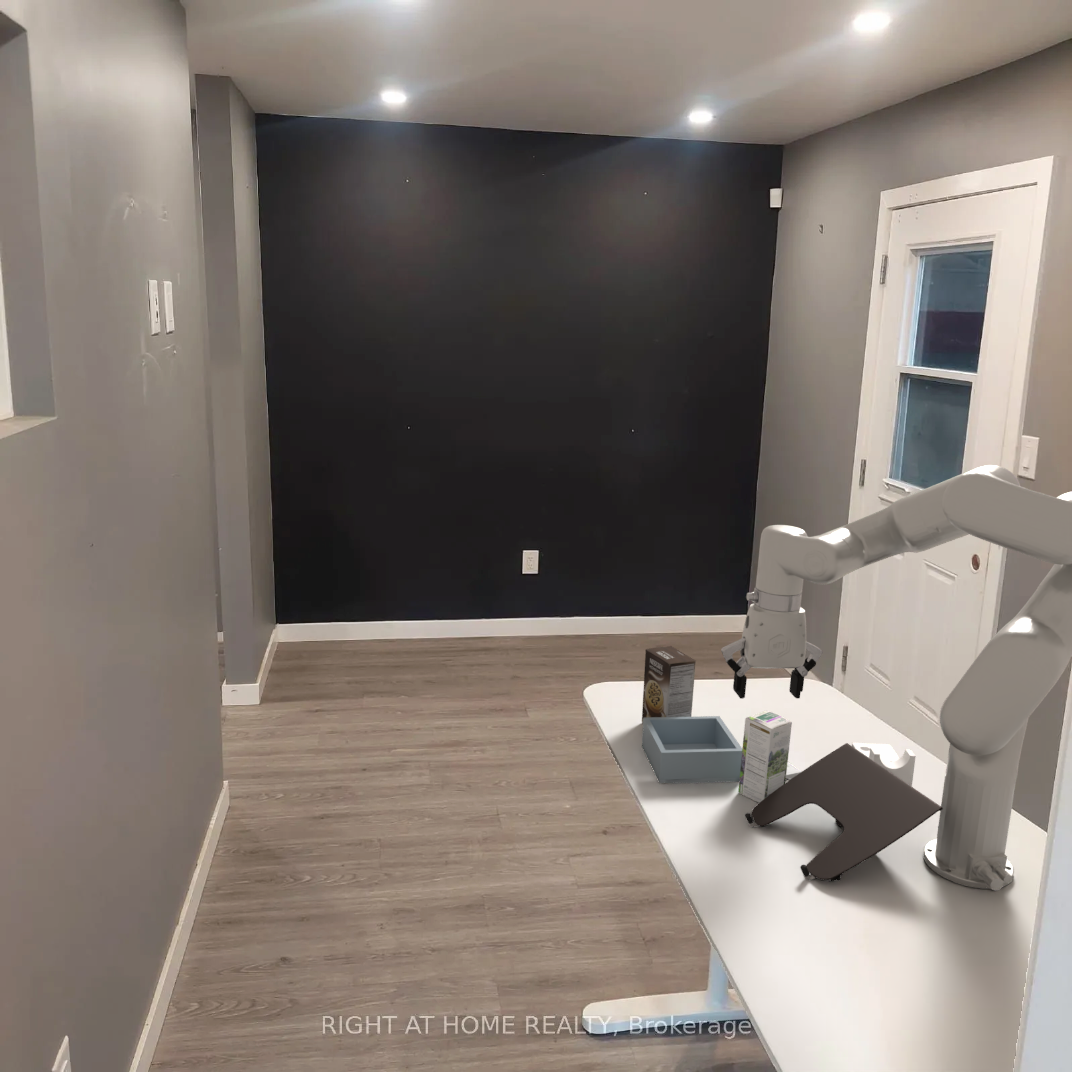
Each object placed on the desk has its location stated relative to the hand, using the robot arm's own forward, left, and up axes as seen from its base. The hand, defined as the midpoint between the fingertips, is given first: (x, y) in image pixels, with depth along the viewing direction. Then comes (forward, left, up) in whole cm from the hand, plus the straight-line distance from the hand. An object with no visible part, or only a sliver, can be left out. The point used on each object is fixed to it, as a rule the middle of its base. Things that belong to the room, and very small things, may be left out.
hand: (767, 695), depth 161 cm
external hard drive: (+11, -5, -19) cm, 23 cm away
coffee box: (+27, +10, -19) cm, 34 cm away
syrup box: (0, 0, -19) cm, 19 cm away
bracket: (+6, -25, -19) cm, 32 cm away
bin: (+12, +9, -19) cm, 24 cm away
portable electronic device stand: (-16, -6, -19) cm, 25 cm away
